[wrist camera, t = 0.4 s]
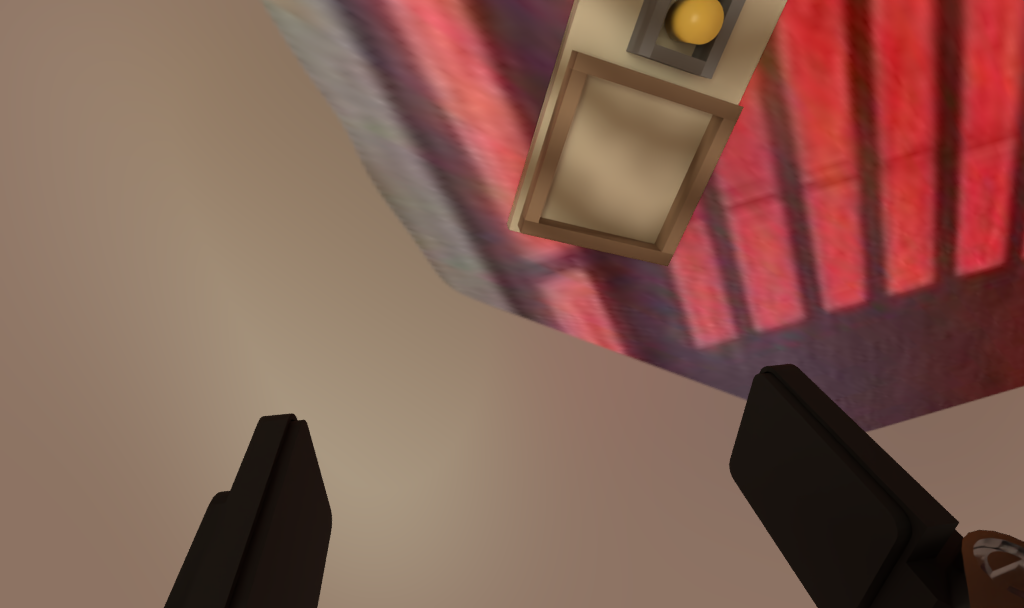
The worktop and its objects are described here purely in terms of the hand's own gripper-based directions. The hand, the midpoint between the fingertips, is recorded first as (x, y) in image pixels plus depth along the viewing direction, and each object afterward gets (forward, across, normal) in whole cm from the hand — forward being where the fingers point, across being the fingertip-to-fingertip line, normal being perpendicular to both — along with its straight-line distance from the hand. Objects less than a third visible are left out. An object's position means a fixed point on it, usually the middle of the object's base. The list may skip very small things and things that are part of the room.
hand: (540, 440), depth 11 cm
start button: (+26, -14, -7) cm, 31 cm away
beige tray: (+28, -12, -2) cm, 31 cm away
